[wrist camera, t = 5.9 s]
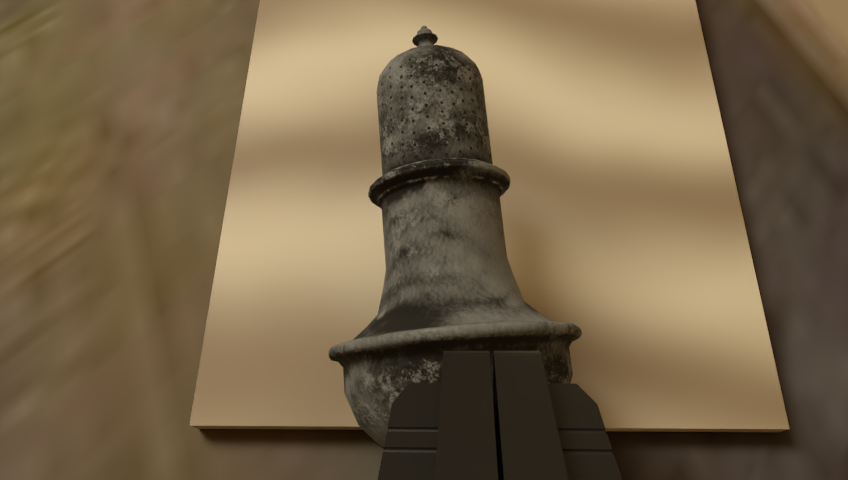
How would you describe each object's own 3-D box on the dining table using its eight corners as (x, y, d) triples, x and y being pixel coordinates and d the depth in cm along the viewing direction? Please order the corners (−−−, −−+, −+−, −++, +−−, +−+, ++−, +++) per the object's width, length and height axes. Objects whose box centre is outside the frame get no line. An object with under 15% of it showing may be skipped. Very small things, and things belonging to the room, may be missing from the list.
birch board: (779, 432, 17) (789, 429, 16) (198, 428, 18) (189, 425, 17) (684, -12, 23) (689, -24, 23) (265, 6, 25) (261, -6, 24)
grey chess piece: (565, 475, 17) (512, 75, 20) (650, 513, 11) (558, -57, 14) (346, 496, 17) (326, 85, 20) (319, 546, 11) (296, -45, 14)
